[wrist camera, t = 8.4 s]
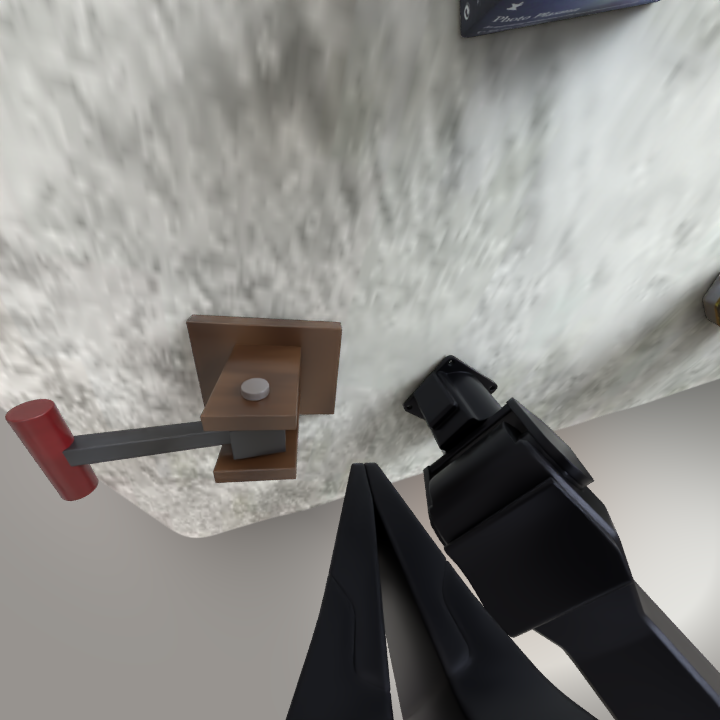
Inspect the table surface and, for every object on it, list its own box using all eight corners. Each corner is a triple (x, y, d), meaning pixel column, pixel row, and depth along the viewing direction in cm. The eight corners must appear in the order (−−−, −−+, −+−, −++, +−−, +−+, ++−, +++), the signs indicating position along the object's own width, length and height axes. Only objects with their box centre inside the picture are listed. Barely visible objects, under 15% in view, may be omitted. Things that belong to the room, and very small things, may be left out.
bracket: (210, 405, 23) (165, 502, 16) (192, 314, 19) (120, 390, 12) (333, 405, 25) (341, 492, 18) (340, 321, 21) (355, 392, 14)
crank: (74, 472, 15) (49, 513, 14) (25, 393, 13) (-15, 432, 11) (283, 440, 19) (286, 470, 17) (280, 374, 16) (284, 400, 14)
